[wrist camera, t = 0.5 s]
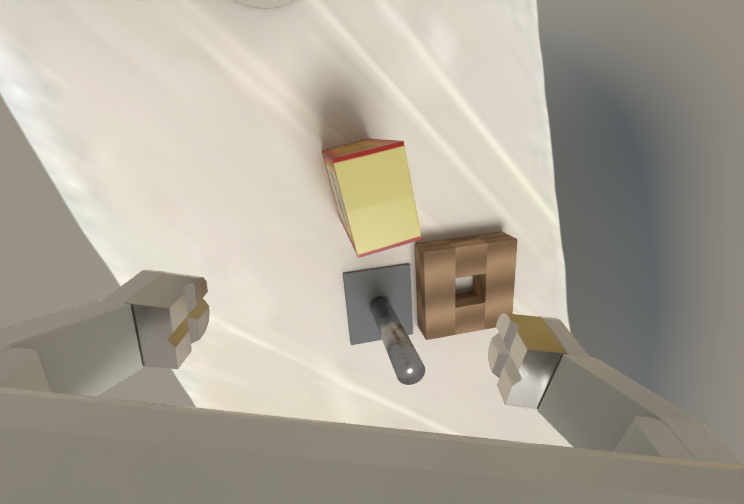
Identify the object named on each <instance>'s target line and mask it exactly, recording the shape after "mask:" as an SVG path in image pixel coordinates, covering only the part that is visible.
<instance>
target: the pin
mask: <svg viewBox="0 0 744 504" xmlns="http://www.w3.org/2000/svg"><path fill="white" fill-rule="evenodd" d="M370 311H371V313H372V316H373V318H374V321H375V323H376V326H377V328H378V330H379V333H380V335H381V338H382V340H383V343H384V345H385V348H386V350H387V353H388V355H389V358H390V360H391V363H392V365H393V368H394V370H395V373H396V375H397V378H398V380H399V381H400V382H401V383H403V384H406V385H411V384H415V383H417V382H418V381H420V380H421V379H422V378H423V376H424V374H425V367H424V365H423V363H422V361H421V359H420V357H419V355H418V353H417V352H416V350H415V348H414V346H413V344H412V342H411V340H410V339H409V337H408V335H407V333H406V331H405V329H404V327H403V326H402V324H401V322H400V320H399V318H398V316H397V314H396V313H395V311H394V309H393V307H392V305H391V303H390V301H389V300H388V299H387V298H386V297H383V296H378V297H376V298H374V299H373V300H372V301H371V303H370Z"/></svg>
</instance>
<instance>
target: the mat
mask: <svg viewBox="0 0 744 504" xmlns="http://www.w3.org/2000/svg"><path fill="white" fill-rule="evenodd" d="M343 278H344V287H345V296H346V305H347V313H348V322H349V331H350V340H351V345H355V344H360V343H366V342H372V341H377V340H382V338H381V335H380V333H379V330H378V328H377V326H376V323H375V321H374V318H373V316H372V313H371V311H370V303H371V301H372V300H373V299H374V298H376V297H378V296H383V297H386V298H387V299H388V300H389V301H390V303H391V305H392V307H393V309H394V311H395V313H396V314H397V316H398V318H399V320H400V322H401V324H402V326H403V327H404V329H405V331H406V333H407V335H411V334H413V324H412V301H411V278H410V264H403V265H396V266H390V267H383V268H376V269H369V270H362V271H355V272H348V273H343Z"/></svg>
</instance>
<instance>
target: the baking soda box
mask: <svg viewBox="0 0 744 504" xmlns="http://www.w3.org/2000/svg"><path fill="white" fill-rule="evenodd" d="M322 154H323V158H324V161H325V165H326V169H327V172H328V176H329V180H330V183H331V187H332V191H333V194H334V198H335V202H336V205H337V209H338V213H339V216H340V220H341V222H342V225H343V227H344V229H345V231H346V233H347V235H348V237H349V239H350V241H351V243H352V246H353V248H354V250H355V252H356V254H357V256H358V258H359V257H363V256H366V255H370V254H373V253H376V252H380V251H383V250H387V249H390V248H394V247H397V246H401V245H404V244H408V243H411V242H414V241H418V240H421V239H422V237H421V232H420V227H419V221H418V216H417V211H416V205H415V200H414V195H413V189H412V184H411V179H410V173H409V168H408V163H407V157H406V152H405V147H404V141H395V140H379V139H368V140H364V141H360V142H356V143H352V144H348V145H344V146H340V147H337V148H333V149H329V150H325V151H322Z"/></svg>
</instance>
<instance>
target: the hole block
mask: <svg viewBox="0 0 744 504" xmlns="http://www.w3.org/2000/svg"><path fill="white" fill-rule="evenodd" d="M516 251H517V239H516V238H514V237H512V236H510V235H508V234H506V233H504V232H497V233H490V234H483V235H475V236H468V237H461V238H454V239H446V240H439V241H432V242H424V243H417V244H415V261H416V288H417V315H418V327H419V329H420V331H421V332H422V334H423V335H424V337H425V339H426V340H429V339H434V338H440V337H445V336H451V335H456V334H462V333H467V332H473V331H478V330H484V329H489V328H495V327H496V324H497V321H498V318H499V317H500V315H501V314H502V313H504V314H512V312H513V297H514V282H515V267H516ZM466 276H473V292H468V293H461V294H455V278H460V277H466Z"/></svg>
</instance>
